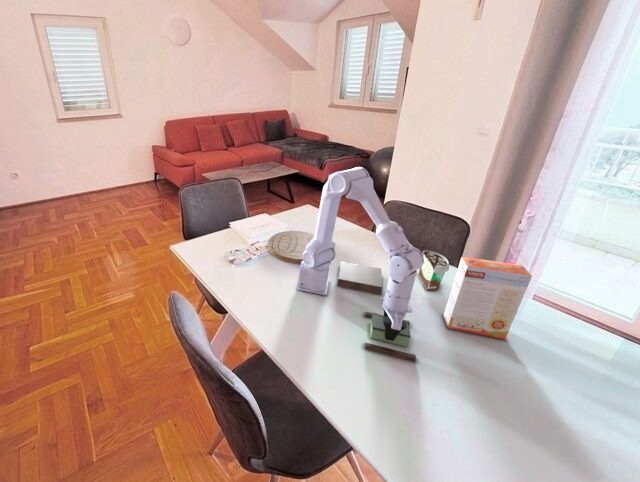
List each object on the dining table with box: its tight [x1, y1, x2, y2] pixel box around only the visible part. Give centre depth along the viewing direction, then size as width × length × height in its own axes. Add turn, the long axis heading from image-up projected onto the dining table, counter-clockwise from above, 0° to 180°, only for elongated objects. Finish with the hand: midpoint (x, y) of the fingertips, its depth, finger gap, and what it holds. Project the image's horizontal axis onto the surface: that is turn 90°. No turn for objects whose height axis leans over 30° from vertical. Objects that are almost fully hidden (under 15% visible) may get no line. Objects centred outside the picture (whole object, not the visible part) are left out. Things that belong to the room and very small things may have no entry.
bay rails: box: [364, 311, 417, 362], centre depth 87 cm, size 12×14×1 cm
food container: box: [417, 249, 450, 291], centre depth 107 cm, size 12×6×10 cm, turn 168°
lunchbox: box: [369, 315, 411, 347], centre depth 86 cm, size 9×5×4 cm, turn 70°
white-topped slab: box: [337, 260, 383, 295], centre depth 110 cm, size 14×12×3 cm
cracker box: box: [443, 256, 533, 340], centre depth 86 cm, size 14×6×21 cm, turn 71°
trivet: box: [267, 230, 315, 265], centre depth 132 cm, size 25×25×2 cm
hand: (388, 332), depth 86 cm, fingers closed on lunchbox, 5 cm apart
